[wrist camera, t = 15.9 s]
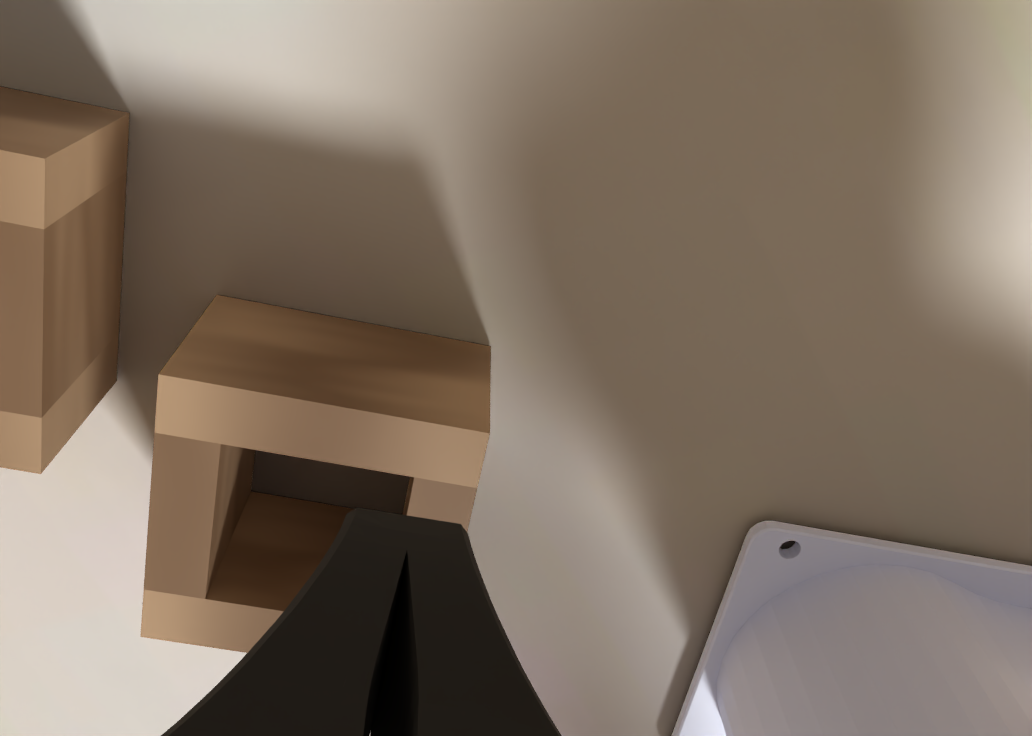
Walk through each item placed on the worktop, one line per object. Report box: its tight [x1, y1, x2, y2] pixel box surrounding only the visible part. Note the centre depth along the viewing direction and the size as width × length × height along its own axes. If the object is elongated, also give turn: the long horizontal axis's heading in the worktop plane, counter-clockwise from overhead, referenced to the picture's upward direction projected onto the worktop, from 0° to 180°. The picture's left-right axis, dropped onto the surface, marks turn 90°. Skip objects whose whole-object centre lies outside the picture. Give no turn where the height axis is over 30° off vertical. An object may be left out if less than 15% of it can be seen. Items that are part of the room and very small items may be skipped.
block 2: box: [141, 295, 491, 653], centre depth 21 cm, size 6×6×4 cm
